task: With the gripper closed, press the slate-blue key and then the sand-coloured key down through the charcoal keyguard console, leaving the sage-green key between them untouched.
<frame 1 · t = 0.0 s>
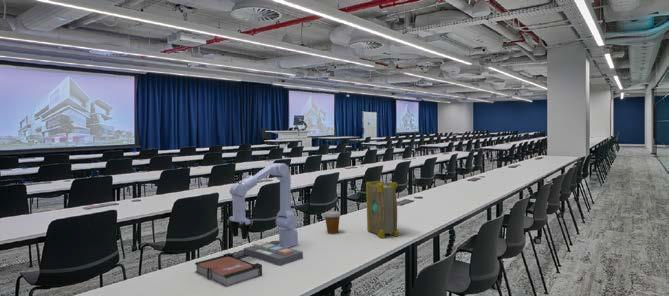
hand: (240, 237, 197), 10 cm above the table, tool pointing down, fingers open, 7 cm apart
decorative book: (382, 234, 237), on the table
sage key: (268, 247, 202), point 3 cm above the table, slide at 0.0 cm
book: (227, 275, 177), on the table
disposable coffee cup: (332, 233, 243), on the table
slate key: (276, 250, 198), point 3 cm above the table, slide at 0.0 cm
terracotta key: (285, 252, 193), point 3 cm above the table, slide at 0.0 cm
keyguard console: (272, 256, 200), on the table
sand key: (260, 245, 207), point 3 cm above the table, slide at 0.0 cm
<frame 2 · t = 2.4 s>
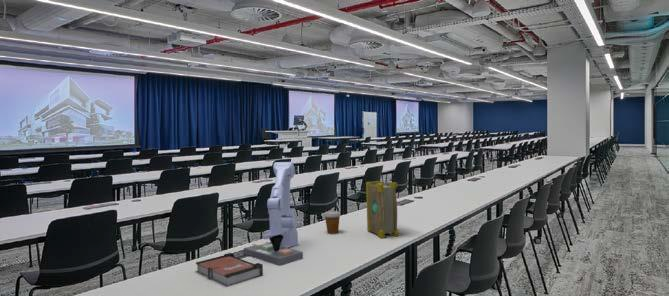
hand: (276, 251, 198), 3 cm above the table, tool pointing down, fingers closed, pressing on slate key
slate key: (276, 253, 198), point 2 cm above the table, slide at 1.4 cm, touching gripper
everything else where it was.
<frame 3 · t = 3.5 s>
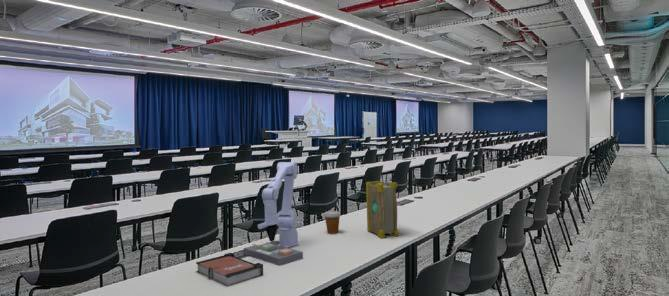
hand: (271, 240, 200), 7 cm above the table, tool pointing down, fingers closed
slate key: (276, 253, 198), point 2 cm above the table, slide at 1.5 cm
everything else where it was.
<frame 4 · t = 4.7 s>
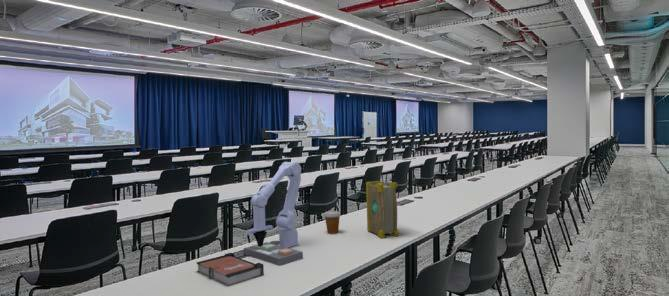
hand: (260, 246, 207), 3 cm above the table, tool pointing down, fingers closed, pressing on sand key
sand key: (260, 248, 207), point 2 cm above the table, slide at 1.3 cm, touching gripper
everything else where it was.
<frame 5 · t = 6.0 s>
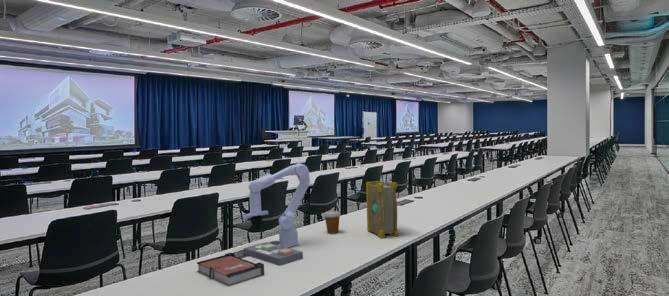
hand: (256, 230, 214), 9 cm above the table, tool pointing down, fingers closed
sand key: (260, 248, 207), point 2 cm above the table, slide at 1.5 cm
everything else where it was.
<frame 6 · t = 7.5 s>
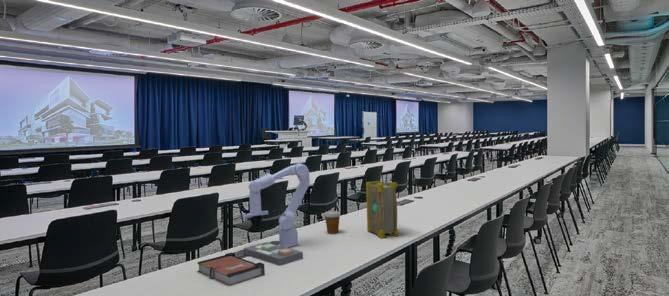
hand: (256, 230, 214), 9 cm above the table, tool pointing down, fingers closed
at the end: slate key slide at 1.5 cm; sand key slide at 1.5 cm; sage key slide at 0.0 cm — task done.
